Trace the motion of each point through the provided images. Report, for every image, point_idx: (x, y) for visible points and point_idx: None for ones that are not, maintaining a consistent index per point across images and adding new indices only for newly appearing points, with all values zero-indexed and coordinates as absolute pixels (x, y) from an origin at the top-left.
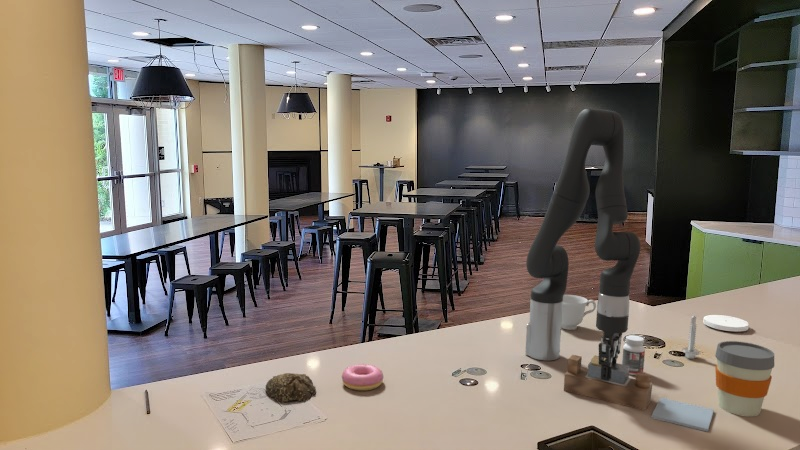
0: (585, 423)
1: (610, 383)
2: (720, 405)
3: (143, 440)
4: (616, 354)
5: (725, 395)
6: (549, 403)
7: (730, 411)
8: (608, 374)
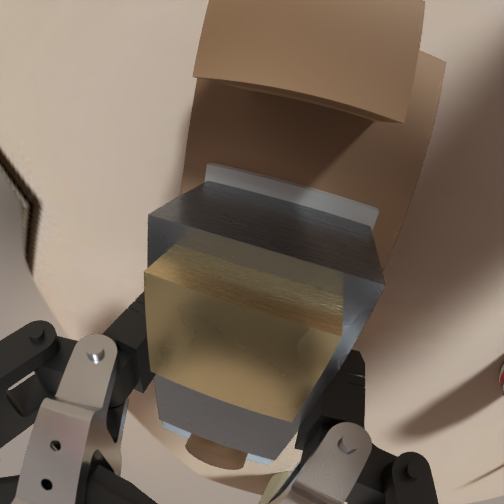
0: (39, 185)
1: None
2: None
3: None
4: (277, 490)
5: None
6: (97, 37)
7: (276, 475)
8: None
